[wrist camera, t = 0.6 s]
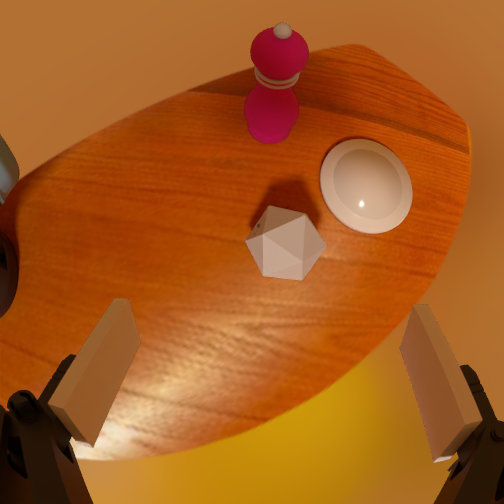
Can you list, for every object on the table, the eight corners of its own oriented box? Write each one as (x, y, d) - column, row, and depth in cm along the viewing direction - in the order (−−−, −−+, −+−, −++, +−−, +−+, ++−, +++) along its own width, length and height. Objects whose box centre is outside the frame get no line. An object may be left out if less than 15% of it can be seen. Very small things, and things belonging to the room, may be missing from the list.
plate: (305, 209, 42) (306, 207, 41) (335, 127, 45) (337, 123, 43) (396, 249, 42) (400, 248, 41) (416, 166, 44) (420, 163, 43)
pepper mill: (281, 100, 45) (300, -1, 25) (302, 138, 44) (335, 42, 24) (236, 114, 44) (233, 11, 25) (255, 154, 44) (263, 56, 24)
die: (299, 207, 43) (258, 183, 36) (347, 242, 38) (314, 223, 31) (265, 257, 45) (219, 243, 37) (308, 296, 40) (266, 290, 33)
